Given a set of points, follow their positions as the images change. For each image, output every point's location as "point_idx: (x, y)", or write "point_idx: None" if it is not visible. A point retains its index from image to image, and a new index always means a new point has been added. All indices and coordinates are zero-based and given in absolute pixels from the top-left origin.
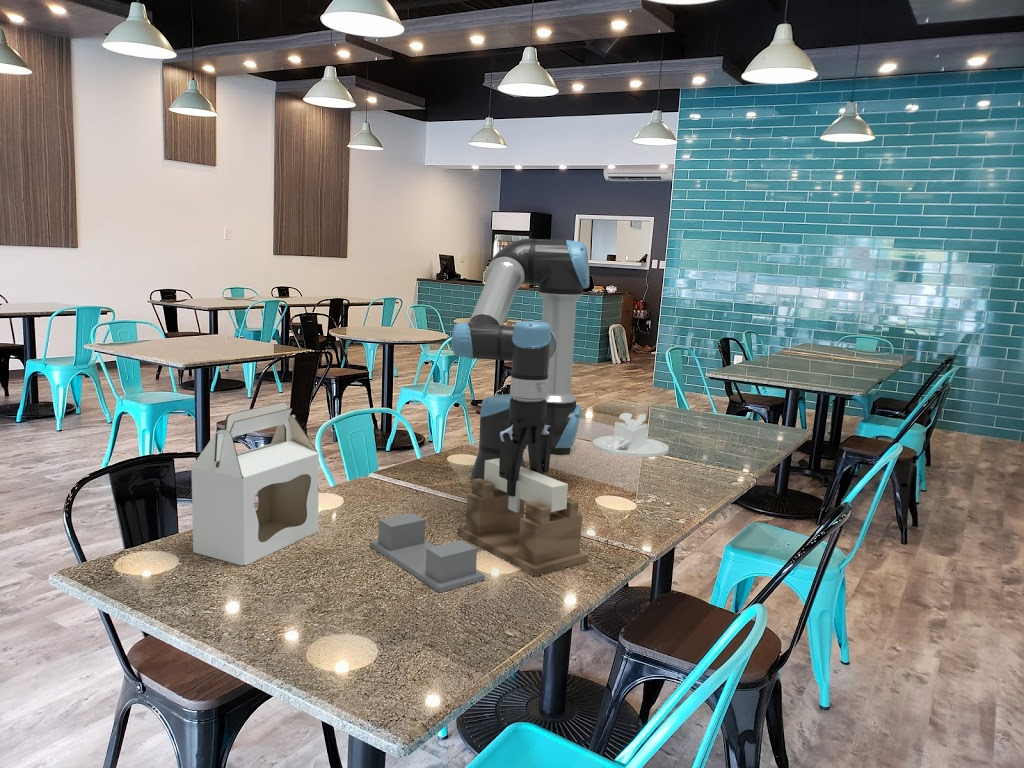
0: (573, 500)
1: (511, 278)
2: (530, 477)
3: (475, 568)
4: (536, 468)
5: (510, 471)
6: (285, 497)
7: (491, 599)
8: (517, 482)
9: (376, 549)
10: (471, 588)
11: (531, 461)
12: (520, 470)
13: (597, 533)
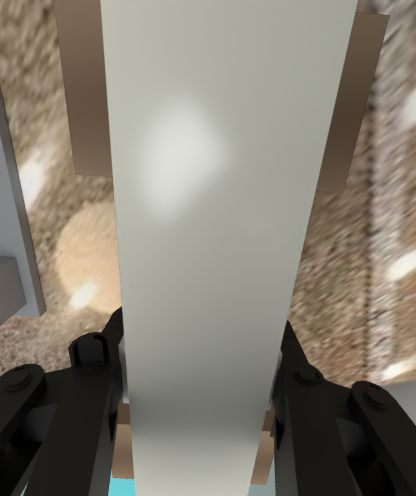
0: (266, 472)
1: None
2: (147, 490)
3: (17, 309)
4: (275, 468)
5: (20, 481)
6: None
7: (23, 360)
8: (124, 396)
9: None
10: (9, 320)
11: (290, 490)
12: (195, 392)
13: (409, 276)
